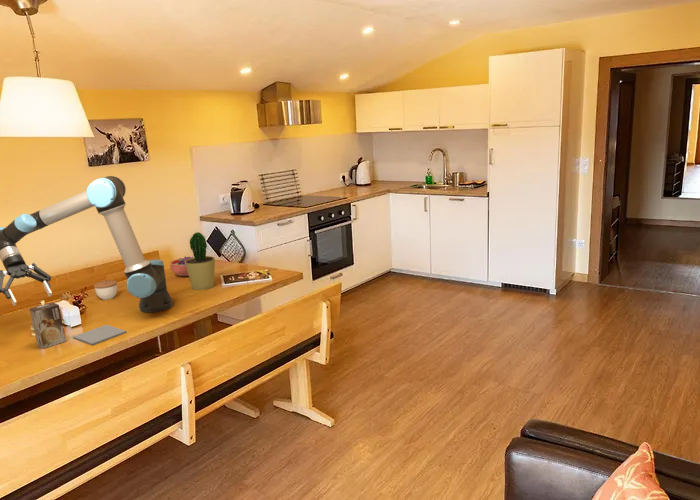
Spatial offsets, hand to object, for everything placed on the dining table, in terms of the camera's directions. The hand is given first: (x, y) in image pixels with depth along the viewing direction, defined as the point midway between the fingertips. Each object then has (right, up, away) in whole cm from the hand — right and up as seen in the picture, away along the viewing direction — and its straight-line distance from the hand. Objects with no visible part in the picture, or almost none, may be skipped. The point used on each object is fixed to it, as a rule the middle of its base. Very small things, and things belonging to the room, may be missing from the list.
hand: (33, 299), depth 224 cm
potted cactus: (+53, +1, +64) cm, 83 cm away
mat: (+26, -15, +3) cm, 30 cm away
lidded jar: (+6, -4, +55) cm, 55 cm away
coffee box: (+9, -18, -3) cm, 20 cm away
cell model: (+37, +6, +89) cm, 97 cm away
